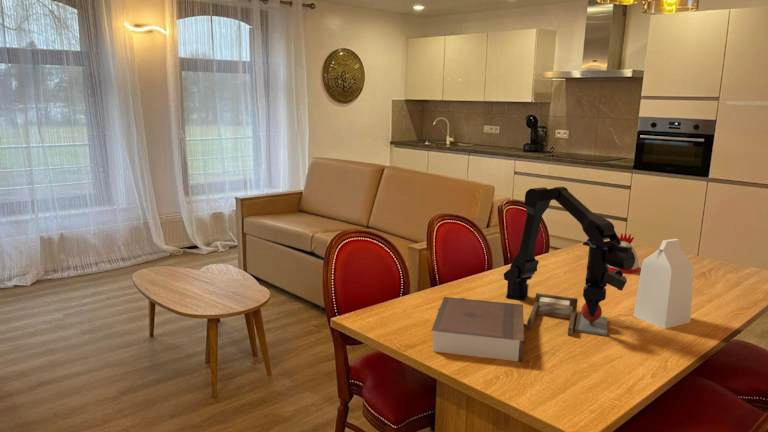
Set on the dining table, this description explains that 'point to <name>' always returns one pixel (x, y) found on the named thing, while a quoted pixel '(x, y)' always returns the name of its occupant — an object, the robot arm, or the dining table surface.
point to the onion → (587, 315)
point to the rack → (572, 300)
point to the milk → (665, 287)
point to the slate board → (591, 325)
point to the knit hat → (627, 242)
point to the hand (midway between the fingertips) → (592, 311)
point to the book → (479, 329)
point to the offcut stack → (554, 307)
